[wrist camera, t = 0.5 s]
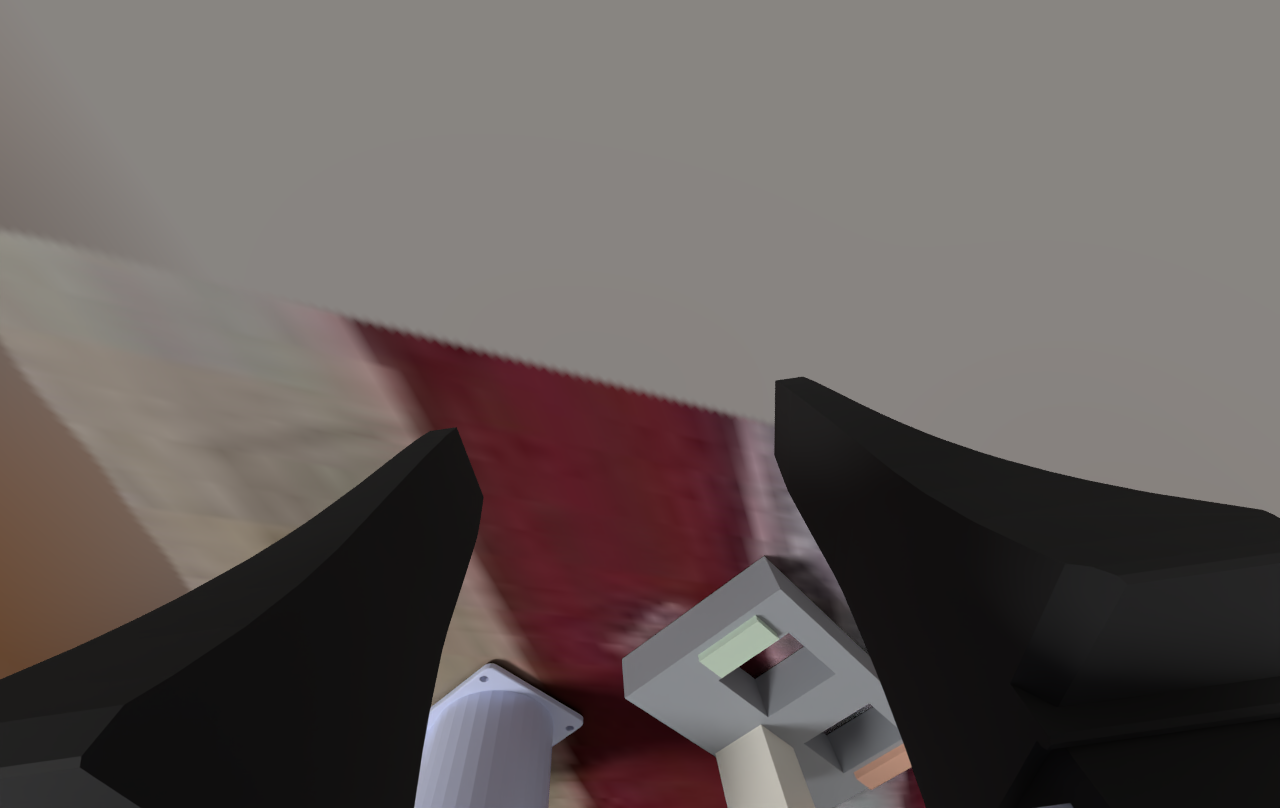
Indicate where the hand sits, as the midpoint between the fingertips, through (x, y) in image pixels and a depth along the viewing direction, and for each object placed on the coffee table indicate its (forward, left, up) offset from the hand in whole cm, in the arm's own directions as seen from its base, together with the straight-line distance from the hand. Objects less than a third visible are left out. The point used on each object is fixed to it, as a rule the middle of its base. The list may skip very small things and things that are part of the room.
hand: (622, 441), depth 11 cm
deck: (-8, -26, -11) cm, 29 cm away
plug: (-12, -26, -8) cm, 30 cm away
